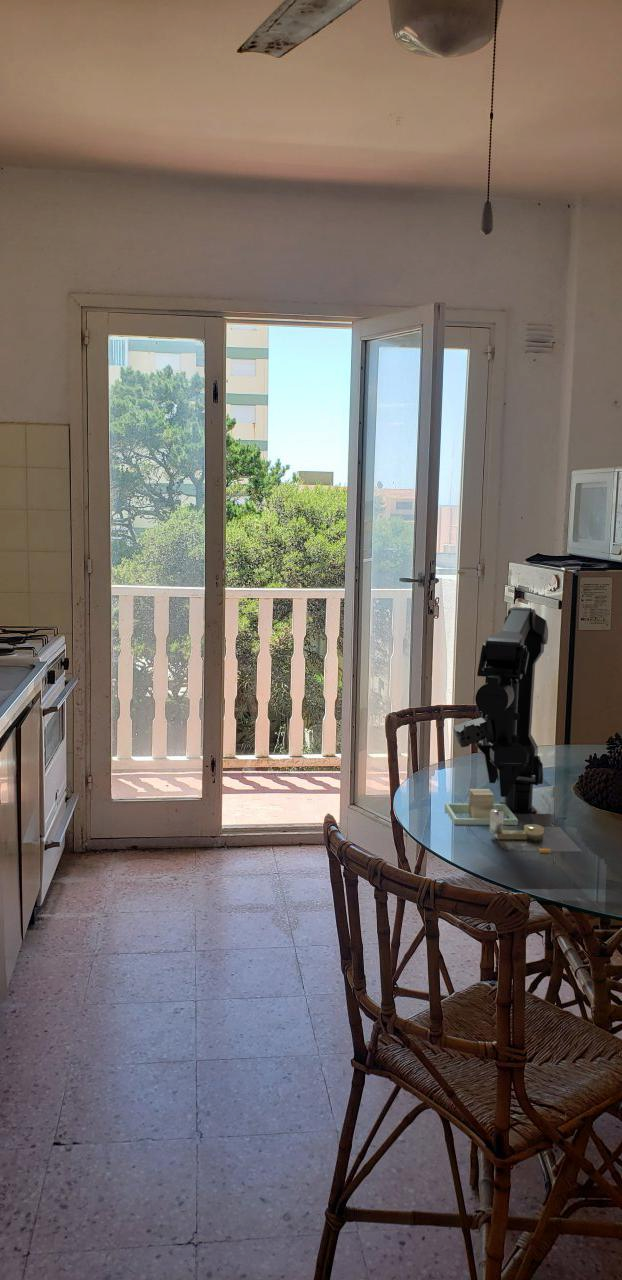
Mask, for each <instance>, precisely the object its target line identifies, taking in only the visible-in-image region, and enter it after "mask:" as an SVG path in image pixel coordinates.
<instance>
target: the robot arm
mask: <svg viewBox="0 0 622 1280" xmlns="http://www.w3.org/2000/svg"><path fill="white" fill-rule="evenodd" d="M548 638H549V627H548V623H547V620H546V619H545V618H543V617H541V616H540V615H538V614H537V613H536V609H532V607H517V606H512V607H509V608H508V611H507V615H506V617H505V618H504V622H503V625H502V628H501V630H500V631H499V632H496V633H492V634H490V635H489V636H488V637H487V638H486V641H485V642H483V643H482V647H481V652H480V657H479V661H478V662H479V663H478V668H477V677H484V678H485V682H484V684H482V686H480V688H478V690H477V691H476V693H475V698H474V699H475V705H476V707H477V708H478V710H479V711H480V712H481V713H480V717H478V718H475V719H470V720H467V721H464V722H463V723H459V724H457V725H453V726H452V729H453V732H454V736H455V739H456V741H457V744H458V745H459V747H461V748H466V747H469V746H470V745H471V744H474V745H475V746H476V747H477V748H478V749H479V750H480V751H481V753H482V754H483V759H484V762H485V768H486V772H487V778H488V782H489V784H495V783H496V782H498V786H499V787H498V788H499V795H500V797H502V798H504V799H503V800H504V802H502V801H501V802H499V803H498V804H506V805H507V807H508V808H509V809H510V810H511V812H512V813H513V814H537V813H538V811H537V809H536V808H535V807H534V806H533V794H534V793H533V791H534V786H539V785H542V784H544V764H543V762H542V761H541V756H539V755H538V754H539V752H538V751H539V747H538V745H537V743H536V741H535V739H534V737H533V735H532V722H533V707H534V693H535V692H534V691H535V690H534V688H535V672H536V664H537V662H538V660H539V659H540V658H541V657H542V655H543V653H544V652H545V645H547V644H548V640H549V639H548Z"/></svg>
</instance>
